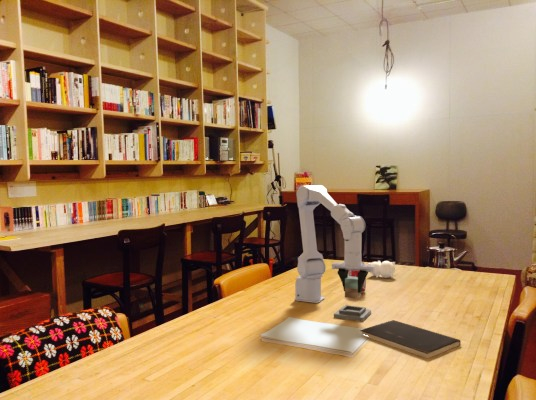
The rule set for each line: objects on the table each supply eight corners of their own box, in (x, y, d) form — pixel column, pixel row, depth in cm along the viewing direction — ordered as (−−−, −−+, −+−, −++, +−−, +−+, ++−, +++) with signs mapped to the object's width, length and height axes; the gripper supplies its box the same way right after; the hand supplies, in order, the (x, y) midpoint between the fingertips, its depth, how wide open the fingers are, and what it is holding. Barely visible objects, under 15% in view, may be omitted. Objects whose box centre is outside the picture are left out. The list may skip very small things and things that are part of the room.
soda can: (361, 294, 190) (361, 265, 190) (345, 292, 195) (345, 263, 194) (368, 291, 196) (368, 262, 195) (353, 288, 200) (353, 260, 200)
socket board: (333, 317, 161) (333, 310, 161) (343, 309, 170) (343, 303, 170) (362, 321, 156) (362, 314, 156) (370, 313, 165) (370, 307, 165)
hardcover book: (427, 361, 125) (427, 352, 125) (360, 337, 143) (360, 329, 143) (460, 347, 135) (460, 339, 134) (394, 326, 153) (394, 319, 153)
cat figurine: (368, 256, 223) (394, 257, 217) (374, 265, 231) (398, 266, 225) (365, 274, 219) (391, 275, 213) (371, 282, 227) (396, 284, 222)
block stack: (344, 297, 162) (344, 278, 162) (348, 294, 166) (348, 276, 166) (357, 298, 160) (357, 279, 160) (361, 295, 164) (361, 277, 164)
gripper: (328, 252, 162) (328, 291, 162) (370, 255, 155) (370, 296, 156) (335, 249, 168) (335, 287, 169) (376, 252, 161) (376, 291, 162)
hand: (352, 291), depth 163 cm, fingers closed on block stack, 4 cm apart
